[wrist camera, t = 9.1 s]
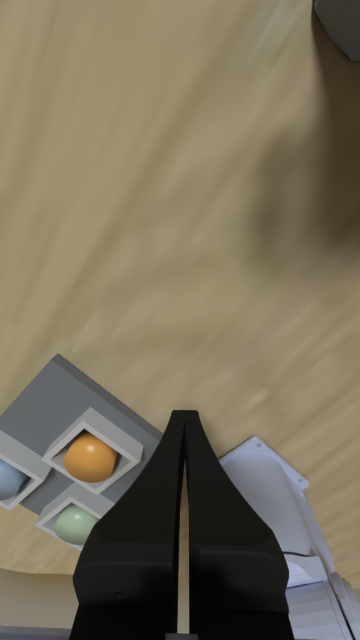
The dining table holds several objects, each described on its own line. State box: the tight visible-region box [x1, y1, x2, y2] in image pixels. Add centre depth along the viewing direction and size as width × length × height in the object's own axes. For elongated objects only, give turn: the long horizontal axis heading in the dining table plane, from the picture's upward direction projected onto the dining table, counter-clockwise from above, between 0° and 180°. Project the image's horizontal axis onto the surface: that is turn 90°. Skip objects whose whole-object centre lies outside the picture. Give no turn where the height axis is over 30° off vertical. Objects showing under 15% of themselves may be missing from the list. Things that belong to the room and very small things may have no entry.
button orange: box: [64, 432, 118, 483], centre depth 23 cm, size 5×5×2 cm
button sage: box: [54, 502, 100, 545], centre depth 27 cm, size 5×5×2 cm
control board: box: [0, 354, 186, 551], centre depth 26 cm, size 18×19×3 cm
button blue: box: [0, 459, 27, 500], centre depth 25 cm, size 5×5×2 cm
